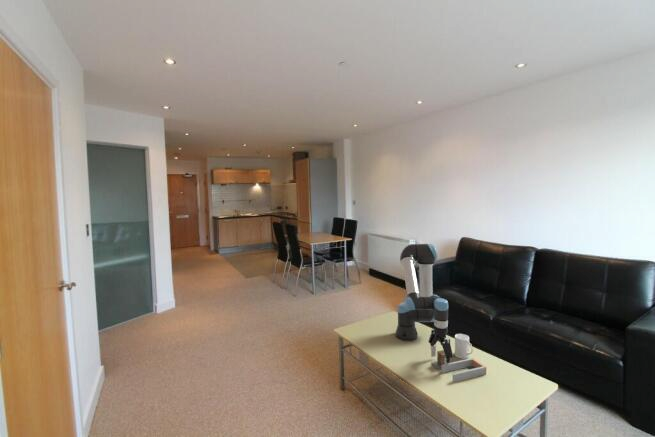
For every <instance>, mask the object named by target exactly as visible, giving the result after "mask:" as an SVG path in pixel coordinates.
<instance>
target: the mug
mask: <svg viewBox="0 0 655 437" xmlns="http://www.w3.org/2000/svg"><path fill="white" fill-rule="evenodd" d="M473 348H474V347H473V346H472V343H470V336H469V335H467V334H464V333H456V334H455V335H454V355H453V356H455V357H456V358H458V359H460V360H465V359H470V357H471V356H470V355H472V353H473V351H474V349H473ZM470 349H471V351H470Z"/></svg>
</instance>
